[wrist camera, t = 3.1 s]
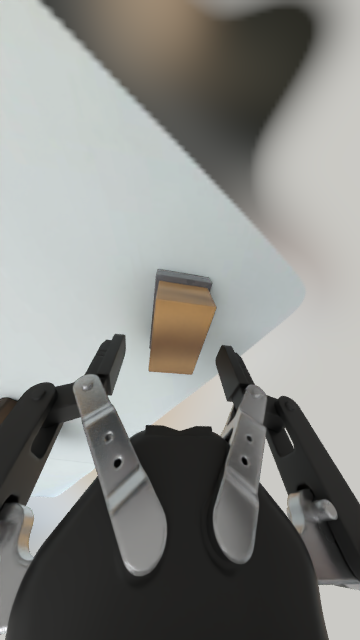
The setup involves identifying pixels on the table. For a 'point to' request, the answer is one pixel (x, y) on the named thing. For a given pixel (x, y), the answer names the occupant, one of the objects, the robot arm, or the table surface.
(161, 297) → the eraser
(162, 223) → the table surface
